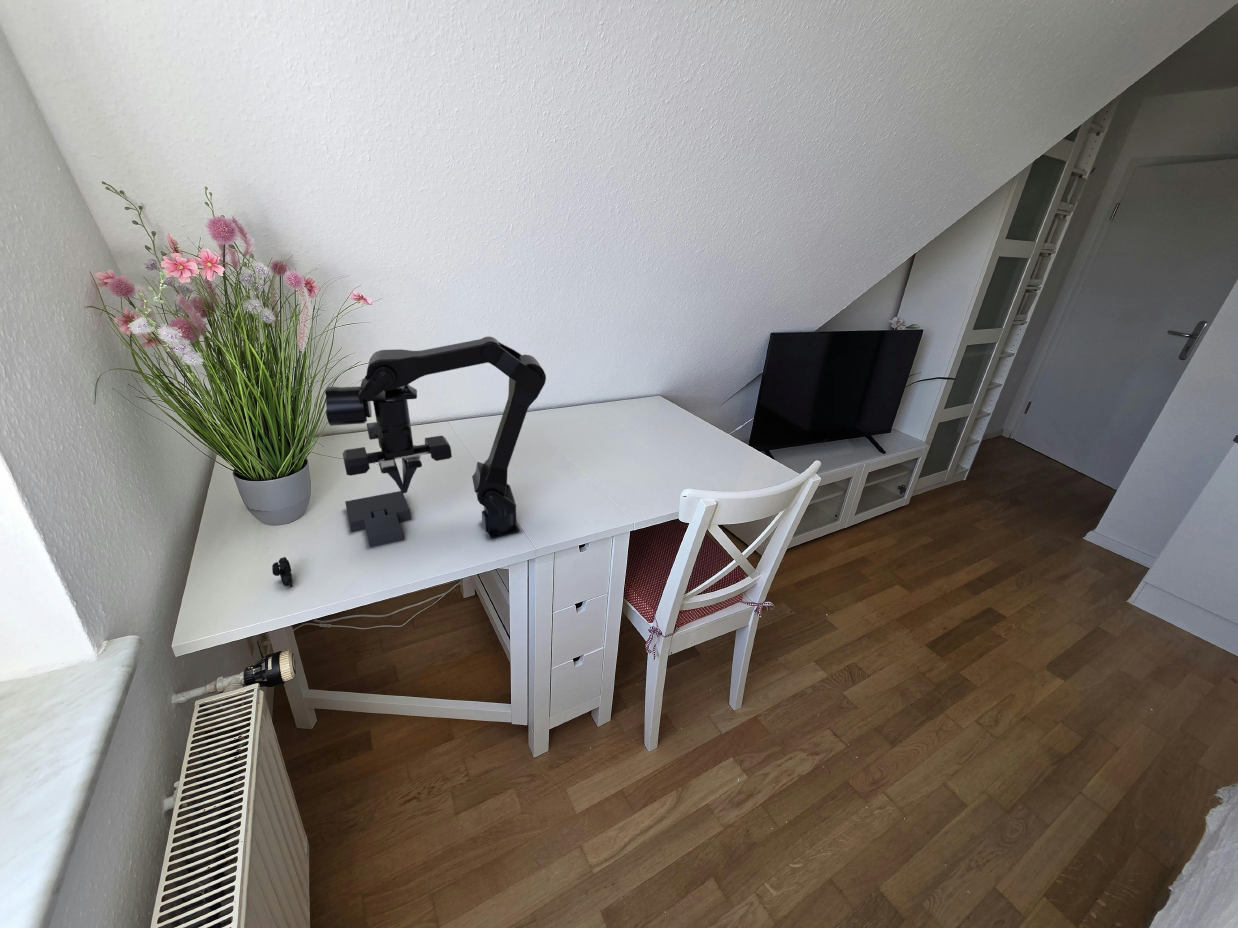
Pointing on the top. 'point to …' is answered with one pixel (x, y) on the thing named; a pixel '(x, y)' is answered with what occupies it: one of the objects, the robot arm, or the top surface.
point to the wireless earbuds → (283, 571)
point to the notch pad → (376, 508)
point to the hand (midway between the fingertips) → (404, 492)
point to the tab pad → (383, 529)
